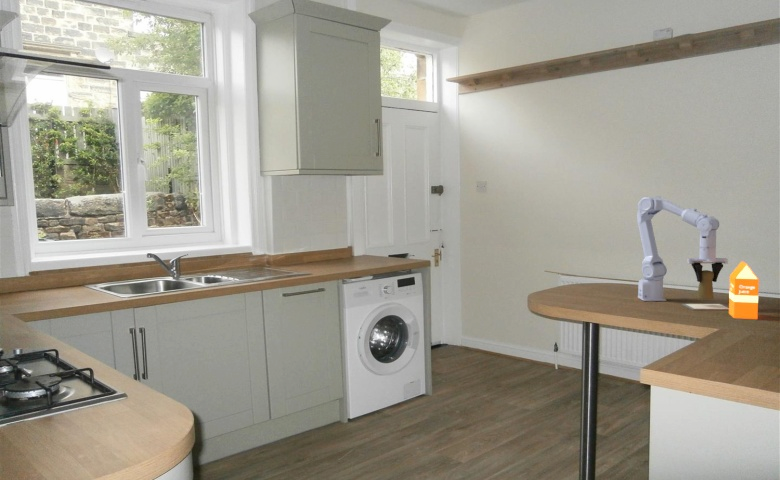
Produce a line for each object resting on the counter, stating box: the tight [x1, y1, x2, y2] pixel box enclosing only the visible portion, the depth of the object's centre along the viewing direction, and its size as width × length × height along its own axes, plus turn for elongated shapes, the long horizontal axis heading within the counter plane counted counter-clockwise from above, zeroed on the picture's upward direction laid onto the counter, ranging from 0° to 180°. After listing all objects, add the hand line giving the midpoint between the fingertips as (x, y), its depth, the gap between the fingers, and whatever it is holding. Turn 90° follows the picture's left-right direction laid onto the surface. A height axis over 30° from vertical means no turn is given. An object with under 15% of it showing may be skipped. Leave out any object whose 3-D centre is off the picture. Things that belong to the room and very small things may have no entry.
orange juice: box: [728, 261, 760, 320], centre depth 217 cm, size 8×9×20 cm
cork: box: [696, 269, 714, 300], centre depth 234 cm, size 6×6×11 cm
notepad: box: [681, 303, 729, 311], centre depth 235 cm, size 15×11×1 cm
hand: (706, 281), depth 234 cm, fingers closed on cork, 5 cm apart
